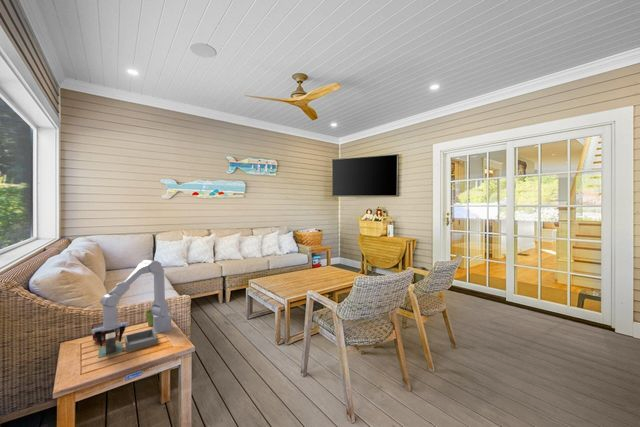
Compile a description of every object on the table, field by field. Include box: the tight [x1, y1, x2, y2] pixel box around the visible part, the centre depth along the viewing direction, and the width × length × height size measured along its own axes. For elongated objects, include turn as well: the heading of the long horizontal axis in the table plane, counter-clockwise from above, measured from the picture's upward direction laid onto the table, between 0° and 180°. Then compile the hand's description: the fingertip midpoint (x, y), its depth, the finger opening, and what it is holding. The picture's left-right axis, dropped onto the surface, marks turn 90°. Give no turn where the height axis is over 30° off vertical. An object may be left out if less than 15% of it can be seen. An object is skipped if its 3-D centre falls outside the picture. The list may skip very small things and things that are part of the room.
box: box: [105, 332, 117, 355], centre depth 143 cm, size 4×9×7 cm, turn 38°
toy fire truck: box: [90, 321, 119, 344], centre depth 155 cm, size 7×12×10 cm, turn 142°
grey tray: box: [124, 328, 158, 353], centre depth 151 cm, size 14×23×4 cm, turn 38°
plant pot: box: [144, 308, 153, 327], centre depth 175 cm, size 9×9×9 cm
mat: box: [97, 341, 124, 359], centre depth 143 cm, size 10×12×1 cm
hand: (110, 343), depth 143 cm, fingers open, 7 cm apart
